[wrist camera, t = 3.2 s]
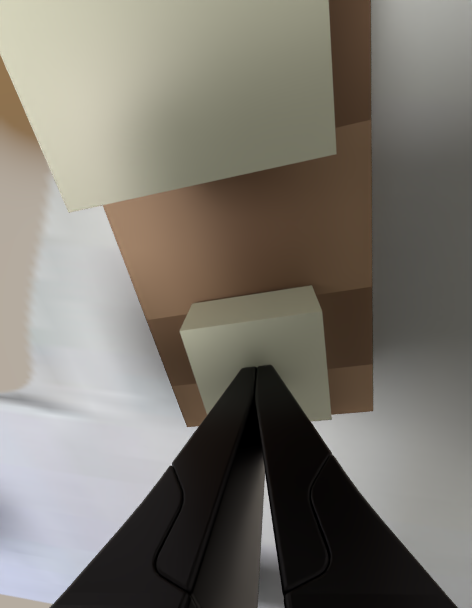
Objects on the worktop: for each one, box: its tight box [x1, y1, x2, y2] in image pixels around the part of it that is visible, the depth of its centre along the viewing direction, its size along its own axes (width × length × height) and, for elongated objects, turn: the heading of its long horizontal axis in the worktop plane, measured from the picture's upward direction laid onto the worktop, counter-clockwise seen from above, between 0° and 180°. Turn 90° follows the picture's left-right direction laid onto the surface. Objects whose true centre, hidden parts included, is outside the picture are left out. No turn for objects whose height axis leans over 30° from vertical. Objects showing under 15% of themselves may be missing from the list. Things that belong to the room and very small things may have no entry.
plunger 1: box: [0, 0, 337, 213], centre depth 5 cm, size 4×4×5 cm
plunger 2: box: [180, 285, 332, 421], centre depth 10 cm, size 4×4×5 cm
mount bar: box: [103, 0, 373, 427], centre depth 10 cm, size 7×14×3 cm, turn 12°
